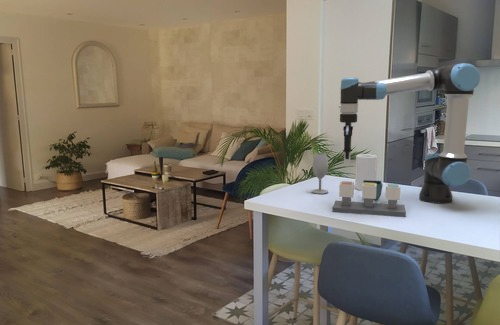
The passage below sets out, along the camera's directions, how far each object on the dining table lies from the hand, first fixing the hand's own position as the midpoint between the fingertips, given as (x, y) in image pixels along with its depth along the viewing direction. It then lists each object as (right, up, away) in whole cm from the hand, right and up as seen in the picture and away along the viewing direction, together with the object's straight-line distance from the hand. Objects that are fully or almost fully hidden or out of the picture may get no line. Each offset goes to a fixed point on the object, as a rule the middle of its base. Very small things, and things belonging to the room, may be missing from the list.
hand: (347, 165), depth 194 cm
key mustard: (+10, -14, -1) cm, 17 cm away
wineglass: (-6, -15, +35) cm, 39 cm away
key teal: (+19, -14, -3) cm, 24 cm away
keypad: (+10, -20, 0) cm, 23 cm away
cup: (+20, -13, +43) cm, 49 cm away
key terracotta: (0, -14, +2) cm, 14 cm away
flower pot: (+17, -17, +19) cm, 31 cm away
